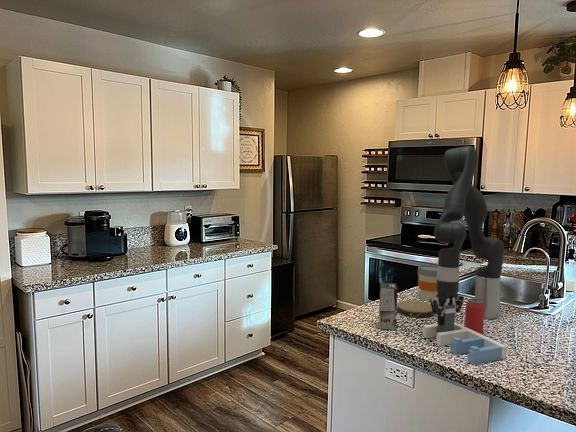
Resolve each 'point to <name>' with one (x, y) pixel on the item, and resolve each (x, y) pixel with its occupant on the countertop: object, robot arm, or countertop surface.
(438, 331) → the grey trapezoid block
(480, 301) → the beer can
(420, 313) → the ringed wooden coaster
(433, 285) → the reusable coffee cup
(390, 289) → the coffee box
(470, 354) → the duct comb
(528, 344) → the countertop surface
